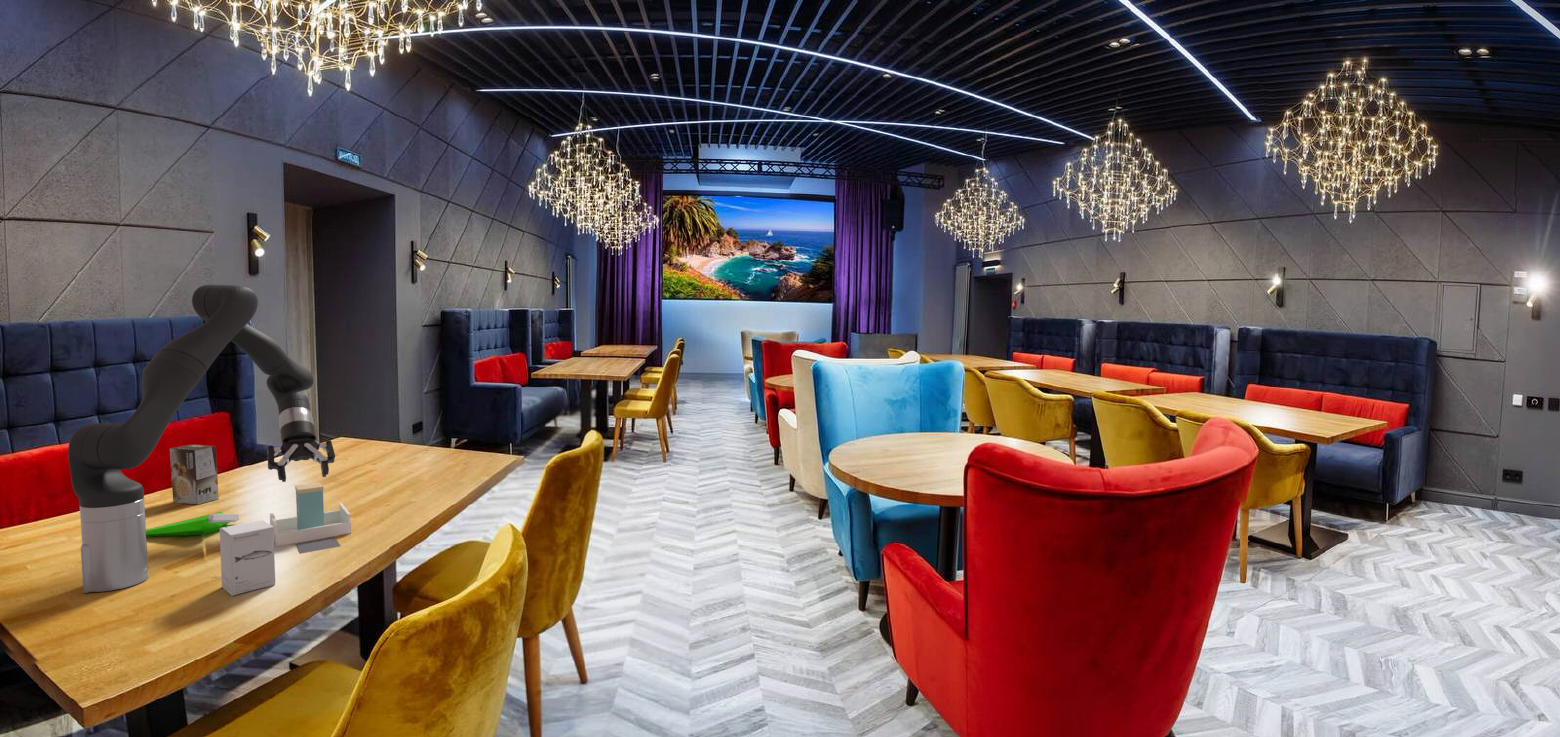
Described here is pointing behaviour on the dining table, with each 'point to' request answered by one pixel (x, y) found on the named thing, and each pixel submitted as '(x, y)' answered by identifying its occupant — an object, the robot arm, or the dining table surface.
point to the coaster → (317, 545)
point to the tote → (333, 526)
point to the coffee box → (194, 474)
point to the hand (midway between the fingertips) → (304, 477)
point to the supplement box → (247, 557)
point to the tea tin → (309, 505)
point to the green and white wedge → (194, 525)
